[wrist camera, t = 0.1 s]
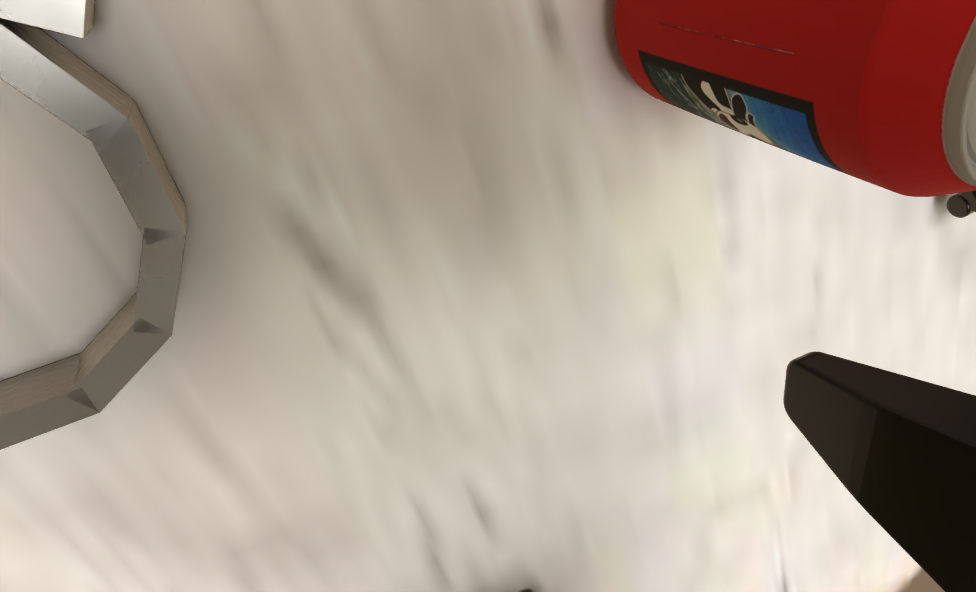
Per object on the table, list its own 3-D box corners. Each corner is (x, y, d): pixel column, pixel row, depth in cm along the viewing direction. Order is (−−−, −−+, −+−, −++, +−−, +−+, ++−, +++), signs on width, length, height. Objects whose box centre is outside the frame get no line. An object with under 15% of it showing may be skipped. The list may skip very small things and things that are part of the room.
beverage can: (605, 120, 23) (900, 265, 14) (595, -101, 20) (987, -116, 10) (762, 75, 25) (1125, 176, 15) (779, -137, 21) (1272, -180, 12)
